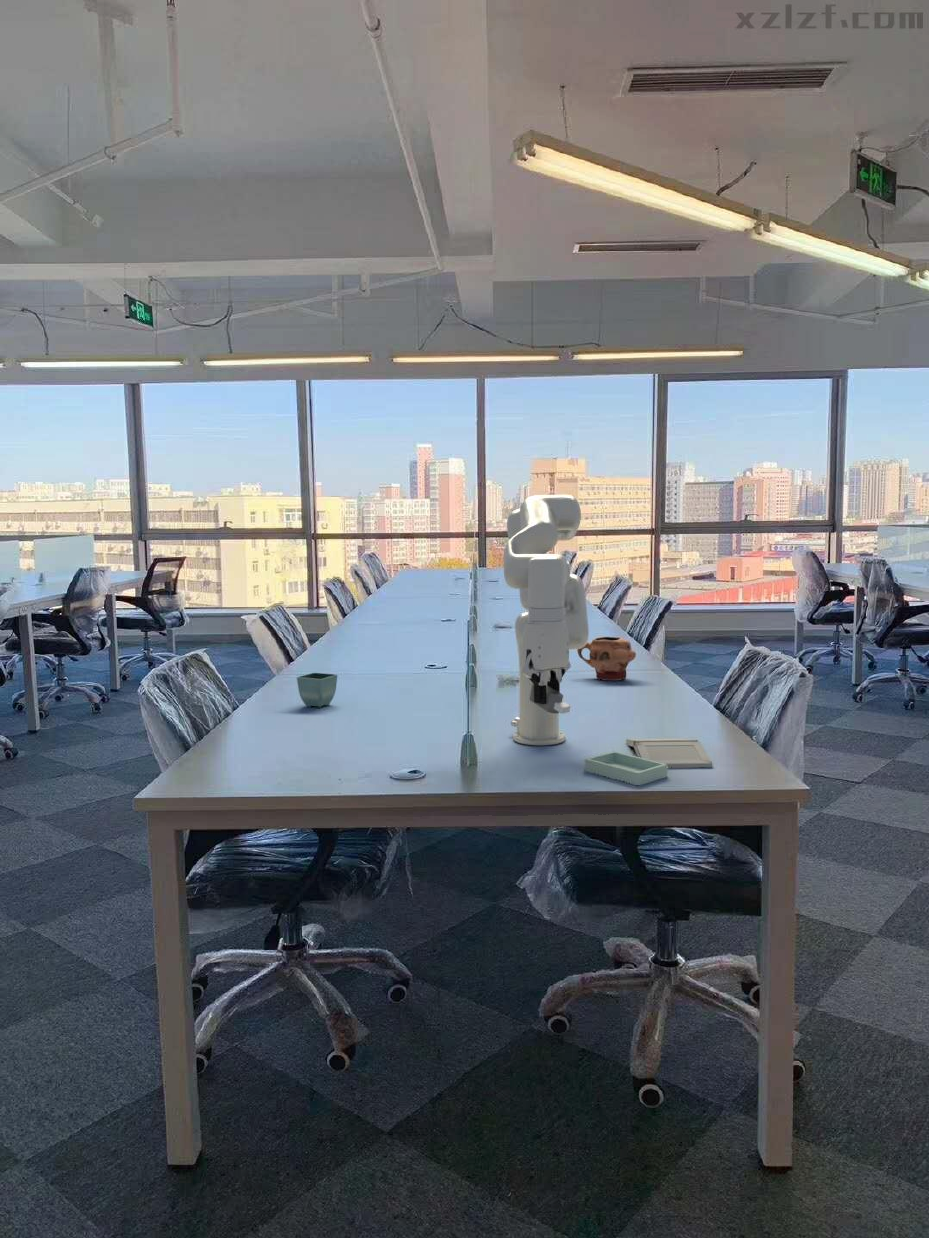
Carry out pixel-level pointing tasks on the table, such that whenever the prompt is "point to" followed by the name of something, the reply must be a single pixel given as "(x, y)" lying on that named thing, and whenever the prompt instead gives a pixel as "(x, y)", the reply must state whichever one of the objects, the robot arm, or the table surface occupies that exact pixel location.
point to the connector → (551, 701)
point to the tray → (626, 768)
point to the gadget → (672, 752)
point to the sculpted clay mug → (609, 657)
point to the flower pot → (317, 688)
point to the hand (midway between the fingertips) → (546, 701)
